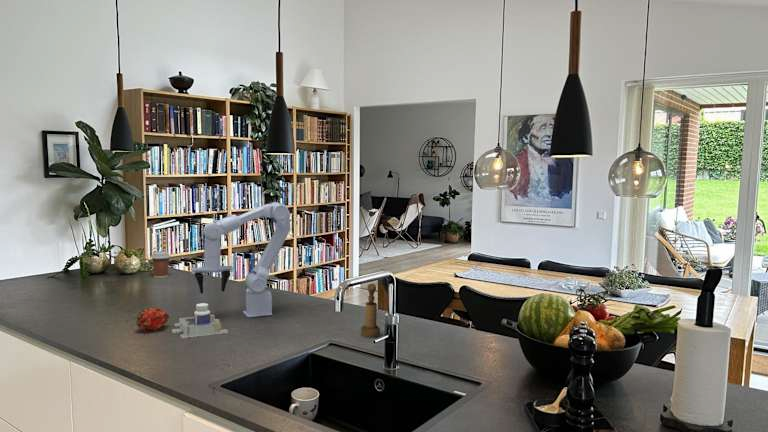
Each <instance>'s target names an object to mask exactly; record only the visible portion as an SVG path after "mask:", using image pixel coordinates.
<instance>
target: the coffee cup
mask: <svg viewBox="0 0 768 432" xmlns="http://www.w3.org/2000/svg"><path fill="white" fill-rule="evenodd" d="M150 258H151V259H152V269H153V277H154V278H159V279H161V278H167V277H168V276H169V266H170V265H169V264H170V258H171V254H169V251H154V252H153V253H152V255H151V256H150Z"/></svg>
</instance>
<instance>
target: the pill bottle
mask: <svg viewBox="0 0 768 432" xmlns="http://www.w3.org/2000/svg"><path fill="white" fill-rule="evenodd" d="M195 309H196V310H195V311H194V313H193V314H194V315H193V317H194V325H195V324H205V323H210V315H211V311H210V310H209V304H208V303H204V302H203V303H202V302H201V303H196V305H195Z"/></svg>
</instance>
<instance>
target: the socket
mask: <svg viewBox="0 0 768 432" xmlns="http://www.w3.org/2000/svg"><path fill="white" fill-rule="evenodd" d="M215 317H216V316H215V314H210V323H205V324H195V325H194V316H189V317H187V316H186V317H181V318H178V323H177V322H176V323H174V327H175V329H174V328H173V329H171V333H172V334H178V333H182V332H183V333H182V334H180V339H188V337H190V338H196V337H197V336H198V337H204V336H205V337H206V336H212V335H213V336H215V335H222V334H228V333H229V331H228V329H225V328H224V329H222V324H221V322H220V319H219V318H215ZM198 337H197V338H198Z"/></svg>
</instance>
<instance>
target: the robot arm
mask: <svg viewBox="0 0 768 432" xmlns="http://www.w3.org/2000/svg"><path fill="white" fill-rule="evenodd" d="M262 217H263V218H269V219H271V220H272V222H273V225H274V227H275V230H274V232H273V233H272V236H271V238H270V239H269V242H268V243H267V245H266V247H265V249H264V251H263V253H262V254H261V257H260V259H259V260H258V262H257V264H256V265H255V266H254V267H253V268H252V270H251V272H249V273H248V274H246V277H245V280H244V281H245V285H246V286H247V288H246V289H245V310H243V311H242V313H243V315H245V316H246V317H247V318H255V317H264V316H273V313H272V312H273V311H272V310H273V307H272V306H273V296H272V295H273V294H272V292H271V290H266V288H267V284H268V283H267V281H268V278H269V277H270V270H271V268H272V266H273V264H274V263H275V260H276V258H277V257H278V254H279V253H280V250H281V249H282V247H283V245H284V243H285V241H286V238H288V235H289V233H290V231H291V212H290V210H289V208H288V206H287V205H286V204H283V203H280V202H278V201H272V202H270V203H267V204H263V205H260V206H258V207H256V208H254V209H252V210H250V211H246V212H244V213H242V214H240V215H236V214H230V213H229V214H227V215H226V217H223V218H221V219H218V220H217V219H215V220H214V222H208V223H206V224H205V226H204V227H203V230H202V233H203V235H204V243H203V244H204V245H203V246H204V248H203V249H204V251H203V254H204V257H203V260H204V262H203V263H204V265H203V266H199V267H191V271H190V273H191V275H194V277H195V278H196V282H197V285H198V288H199V293H200V294H204V276H203V275H204V274H211V273H214V274H215V273H220V277H221V278H220V279H221V284H220V285H221V287H220V288H221V289H220V291H221V292H225V291H226V286H227V283H228V280H229V278H230V277H231V273H232V272H234V267H233V266H232V265H221V259H222V258H221V250H222V249H221V247H222V246H221V238H222V236H225V235H227V234H229V233H231V232H235V231H237V230H239V229H240V228H241V227H242V224H247V223H248V222H251V221H254V220H257V219H260V218H262Z"/></svg>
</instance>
